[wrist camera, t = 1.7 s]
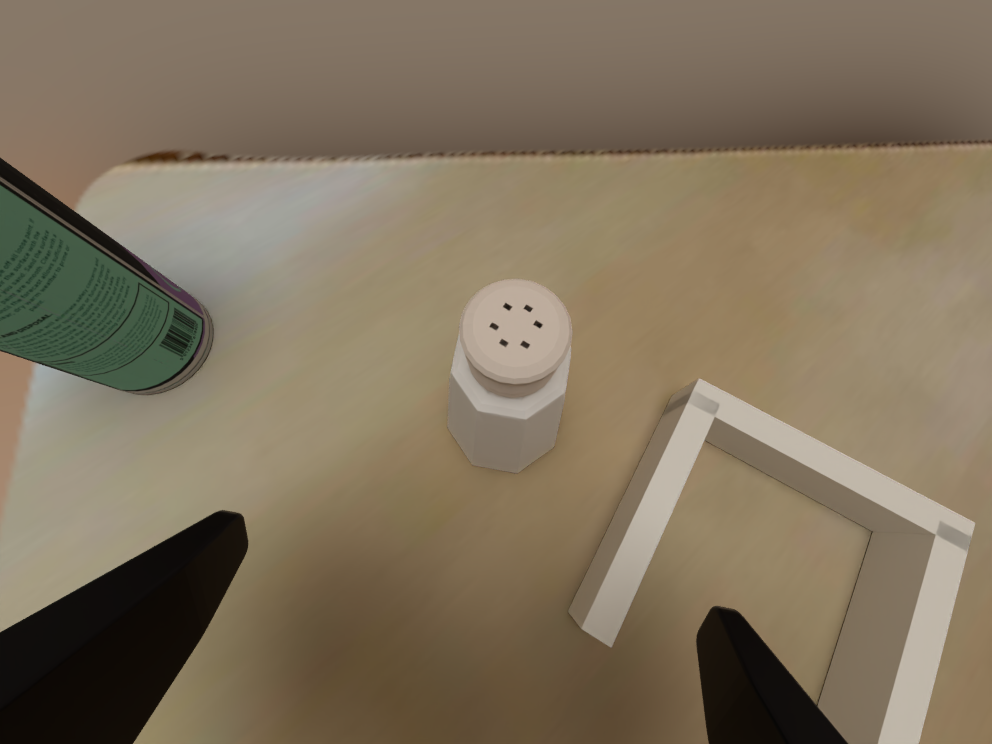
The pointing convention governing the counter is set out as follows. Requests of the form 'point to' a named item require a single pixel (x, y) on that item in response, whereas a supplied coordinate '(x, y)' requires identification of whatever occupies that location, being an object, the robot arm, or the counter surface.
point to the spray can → (90, 299)
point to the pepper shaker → (509, 374)
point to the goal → (841, 487)
